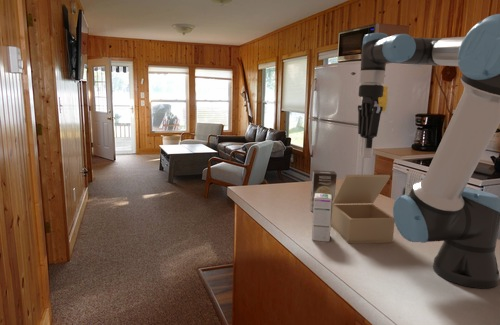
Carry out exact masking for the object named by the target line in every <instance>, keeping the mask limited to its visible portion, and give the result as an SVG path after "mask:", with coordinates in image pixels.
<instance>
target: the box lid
mask: <svg viewBox="0 0 500 325" xmlns="http://www.w3.org/2000/svg"><path fill="white" fill-rule="evenodd" d="M390 178H391V175H390V174H345V175H344V177H343V179H342V181H341V183H340V185H339V187H338V189H337V191H336V192H335V197H334V199H333V201H332V204H374V203H375V201H376V199H377V198H378V197H379V195H380V193H381V192H382V190H383V189H384V187H385V186H386V184H387V183H388V182H389V180H390Z"/></svg>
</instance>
